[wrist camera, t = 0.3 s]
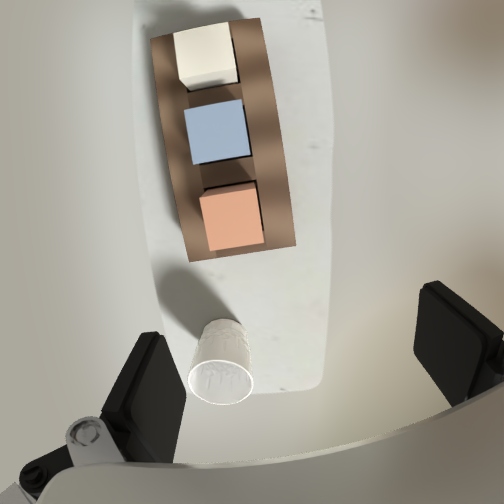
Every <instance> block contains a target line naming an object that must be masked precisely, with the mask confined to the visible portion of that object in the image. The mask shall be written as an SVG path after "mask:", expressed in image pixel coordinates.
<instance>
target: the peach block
mask: <svg viewBox="0 0 504 504" xmlns="http://www.w3.org/2000/svg"><path fill="white" fill-rule="evenodd" d="M199 199H200V204H201V209H202V214H203V219H204V224H205V229H206V234H207V239H208V244H209V249H210V251H214V250H220V249H227V248H233V247H239V246H246V245H252V244H259V243H264V239H263V232H262V226H261V219H260V213H259V206H258V200H257V193H256V188H255V184H254V182H248V183H242V184H236V185H230V186H224V187H218V188H213V189H208V190H207V191H206V192H205V193H204V194H203V195H202V196H201V197H200V198H199Z"/></svg>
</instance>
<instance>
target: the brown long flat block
mask: <svg viewBox="0 0 504 504" xmlns="http://www.w3.org/2000/svg"><path fill="white" fill-rule="evenodd" d="M223 23H224V22H223ZM217 24H218V23H217ZM211 25H213V24H211ZM228 25H229V31H230V37H231V42H232V48H233V54H234V59H235V65H236V72H237V81H238V83H235V84H229V85H223V86H218V87H212V88H207V89H202V90H197V91H193V92H191V91H190V90H189V89H188V88H187V87H186V86H185V85H184V84H183V83H182V81H181V80H180V79H179V73H178V66H177V59H176V51H175V43H174V35H173V33H170V34H167V35H163V36H159V37H156V38H152V39H150V40H151V49H152V58H153V67H154V75H155V83H156V90H157V97H158V104H159V111H160V117H161V124H162V130H163V136H164V142H165V148H166V154H167V159H168V165H169V170H170V175H171V181H172V186H173V191H174V196H175V201H176V206H177V210H178V215H179V220H180V224H181V229H182V233H183V238H184V242H185V247H186V251H187V255H188V259H189V262H194V261H201V260H207V259H214V258H220V257H227V256H233V255H240V254H246V253H253V252H259V251H266V250H272V249H279V248H285V247H292V246H296V240H295V231H294V223H293V215H292V207H291V199H290V192H289V184H288V177H287V170H286V163H285V156H284V149H283V143H282V136H281V130H280V124H279V117H278V111H277V105H276V100H275V94H274V88H273V82H272V77H271V71H270V66H269V61H268V56H267V50H266V45H265V40H264V35H263V30H262V26H261V21H260V18H252V19H243V20H236V21H229V22H228ZM206 26H207V25H206ZM201 27H202V26H201ZM196 28H197V27H196ZM191 29H193V28H191ZM187 30H188V29H187ZM183 31H184V30H183ZM178 32H180V31H178ZM174 33H176V32H174ZM240 99H241V100H242V106H243V112H244V119H245V125H246V131H247V137H248V143H249V149H250V155H244V156H238V157H232V158H226V159H220V160H215V161H209V162H204V163H199V164H194V165H193V161H192V155H191V149H190V143H189V138H188V132H187V126H186V119H185V113H184V110H187V109H191V108H196V107H201V106H206V105H211V104H216V103H222V102H227V101H233V100H240ZM248 182H254V184H255V188H256V193H257V200H258V206H259V213H260V219H261V226H262V232H263V239H264V243H259V244H252V245H246V246H239V247H233V248H227V249H220V250H214V251H210V249H209V244H208V239H207V234H206V229H205V224H204V219H203V214H202V209H201V204H200V199H199V198H200V197H201V196H202V195H203V194H204V193H205V192H206V191H207V190H208V189H213V188H218V187H224V186H230V185H236V184H242V183H248Z"/></svg>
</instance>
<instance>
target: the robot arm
mask: <svg viewBox="0 0 504 504" xmlns="http://www.w3.org/2000/svg"><path fill="white" fill-rule="evenodd" d="M503 335H504V332H503V331H502V330H500V329H499V328H498V327H497V326H496V325H495V324H493V323H492V322H491V321H490V320H489V319H487V318H486V317H485V316H484V315H482V314H481V313H480V312H479V311H477V310H476V309H475V308H474V307H472V306H471V305H470V304H469V303H467V302H466V301H465V300H463V299H462V298H461V297H460V296H458V295H457V294H456V293H455V292H453V291H452V290H451V289H449V288H448V287H446V286H445V285H444V284H443V283H441V282H440V281H438V280H437V281H433V282H430V283H426V284H424V286H423V288H422V289H420V293H419V305H418V316H417V324H416V332H415V340H414V348H413V349H414V354H415V356H416V357H417V359H418V360H419V361H420V363H421V364H422V365H423V367H424V368H425V370H426V371H427V372H428V374H429V375H430V377H431V378H432V379H433V381H434V382H435V383H436V385H437V386H438V388H439V389H440V390H441V392H442V393H443V395H444V396H445V397H446V399H447V401H448V402H449V403H450V405H451V406H452V408H450V409H448V410H445V411H443V412H441V413H438V414H436V415H434V416H431V417H429V418H426V419H424V420H421V421H419V422H416V423H413V424H411V425H408V426H405V427H402V428H399V429H396V430H394V431H391V432H387V433H384V434H381V435H378V436H374V437H371V438H368V439H364V440H361V441H357V442H353V443H350V444H345V445H341V446H337V447H332V448H328V449H323V450H319V451H314V452H308V453H302V454H297V455H291V456H285V457H277V458H270V459H261V460H251V461H241V462H240V461H239V462H224V463H190V464H189V463H187V464H186V463H185V464H182V463H179V464H178V463H173V458H174V453H175V449H176V444H177V439H178V434H179V429H180V425H181V420H182V415H183V411H184V406H185V402H186V390H185V387H184V385H183V383H182V380H181V378H180V375H179V373H178V370H177V368H176V365H175V363H174V360H173V358H172V355H171V353H170V350H169V347H168V345H167V342H166V339H165V337H164V336H163V335H160V334H159V333H158V332H157V331H155V332H144V333H141V335H140V337H139V338H138V340H137V342H136V344H135V346H134V348H133V349H132V351H131V353H130V355H129V357H128V359H127V361H126V363H125V365H124V366H123V368H122V370H121V372H120V374H119V376H118V378H117V380H116V382H115V384H114V386H113V388H112V390H111V392H110V394H109V396H108V398H107V400H106V402H105V404H104V406H103V408H102V410H101V411H102V413H101V415H100V417H99V418H97V417H93V416H90V417H84V418H81V419H79V420H77V421H75V422H74V423H73V424H72V425H71V426H70V427H69V429H68V430H67V433H66V436H65V437H66V443H67V444H66V445H64V446H62V447H60V448H58V449H56V450H54V451H52V452H50V453H48V454H46V455H44V456H42V457H40V458H38V459H35V460H33V461H31V462H30V463H28V464H26V465H25V466H24V467H23V469H22V471H21V472H20V477H19V481H20V484H19V485H18V484H17V483H16V482H14V483H13V484H12V485H11V486H9V487H8V488H7V489H6V490H5V491H3V492H2V493H1V494H0V504H504V341H503V340H502V338H503Z"/></svg>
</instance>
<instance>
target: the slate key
mask: <svg viewBox="0 0 504 504" xmlns="http://www.w3.org/2000/svg"><path fill="white" fill-rule="evenodd" d="M184 113H185V119H186V126H187V132H188V138H189V143H190V149H191V155H192V161H193V165H194V164H199V163H204V162H209V161H215V160H220V159H226V158H232V157H238V156H244V155H250V149H249V143H248V137H247V131H246V125H245V119H244V112H243V106H242V100H241V99H240V100H233V101H227V102H222V103H216V104H211V105H206V106H201V107H196V108H191V109H187V110H184Z"/></svg>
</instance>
